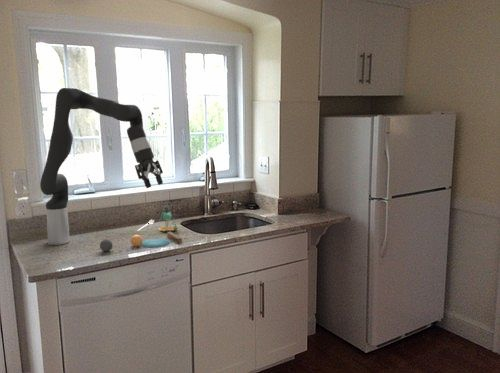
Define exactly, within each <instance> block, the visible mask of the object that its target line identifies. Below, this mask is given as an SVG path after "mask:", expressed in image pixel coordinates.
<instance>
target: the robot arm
mask: <svg viewBox="0 0 500 373" xmlns="http://www.w3.org/2000/svg"><path fill="white" fill-rule="evenodd" d="M54 107H55V108H54V109H55V110H54V121H53V125H52V130H51V136H50V140H49V146H48V153H47V157H46V161H45V165H44V168H43V172H42V175H41V178H40V181H39V182H40V183H39V186H40V187H39V188H40V190H41V192H42V193H43V194H44V195H45V196H51V198H50V199H49V200H48V201H47V202H45V210H46V220H47V221H46V223H47V224H46V231H47V232H46V233H47V243H48V246H49V245H51V246H52V245H53V246H54V245H55V246H59V245H64V244H68V243H69V242H70V239H71V238H70V227H69V215H68V214H69V213H68V202H69V185H68V184H69V183H68V180H67V177H66V176H65V175H64V174H62V173H59V170H60V168H61V166H62V165H63V164H64V162H65V161H66V160H67V158H68V157H69V155H70V153H71V152H72V147H73V143H74V142H73V140H74V135H73V132H72V129H71V127H70V123H69V122H70V120H69V118H70V113H71V110H79V109H84V110H91V111H94V112H95V113H97V114H99V115H101V116H105V117H110V118H113V119H115V120H117V121H119V122H124V123H125V122H129V127H128V128H127V130H126V133H127V137H128V139H129V142H130V146H131V150H132V152H133V155H134V156H133V157H135V162H136V163H137V164H135V165H134V168H135V171H136V175H137V177H138V180H142V181H143V183H144V186H145V189H149V188H151V187H152V184H151V181H150V179H149V174H152V175H154V176H155V179H156V182H157V184H158V186H160V185H163V184H164V181H163V179H162V176H161V175H162V174H163V173H164V172H163V171H164V170H163V169H162V166H161V164H160V162H159V160H155V161H154V157H155V156H154V152H153V150H152V147H151V144H150V141H149V140H148V138H147V136H146V133H145V132H146V131H145V129H144V124H143V123H144V122H143V114H142V111H141V108H139V107H138V106H137V105H135V104H122V103H119V102H118V101H115V100H112V99H107V98H102V97H98V96H94V95H92V94H89V93H87V92H85V91H82V90H81V89H78V88H72V87H62V88H60V89H59V90H58V92H57V94H56V98H55V106H54Z"/></svg>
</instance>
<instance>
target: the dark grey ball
mask: <svg viewBox="0 0 500 373" xmlns="http://www.w3.org/2000/svg"><path fill="white" fill-rule="evenodd" d="M99 248H100V250H101V251H102V252H106V253H107V252H110V251H111V250H112V249H113V242H112V241H111V240H110V239H103V240H101V242H100V243H99Z"/></svg>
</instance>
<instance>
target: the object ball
mask: <svg viewBox="0 0 500 373" xmlns="http://www.w3.org/2000/svg"><path fill="white" fill-rule="evenodd" d="M129 241H130V244H131V245H132V246H133V247H137V248H138V247H140V246H141V244H142V241H143V238H142V236H141V235H139V234H135V235H132V236H131V238H130V240H129Z"/></svg>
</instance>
